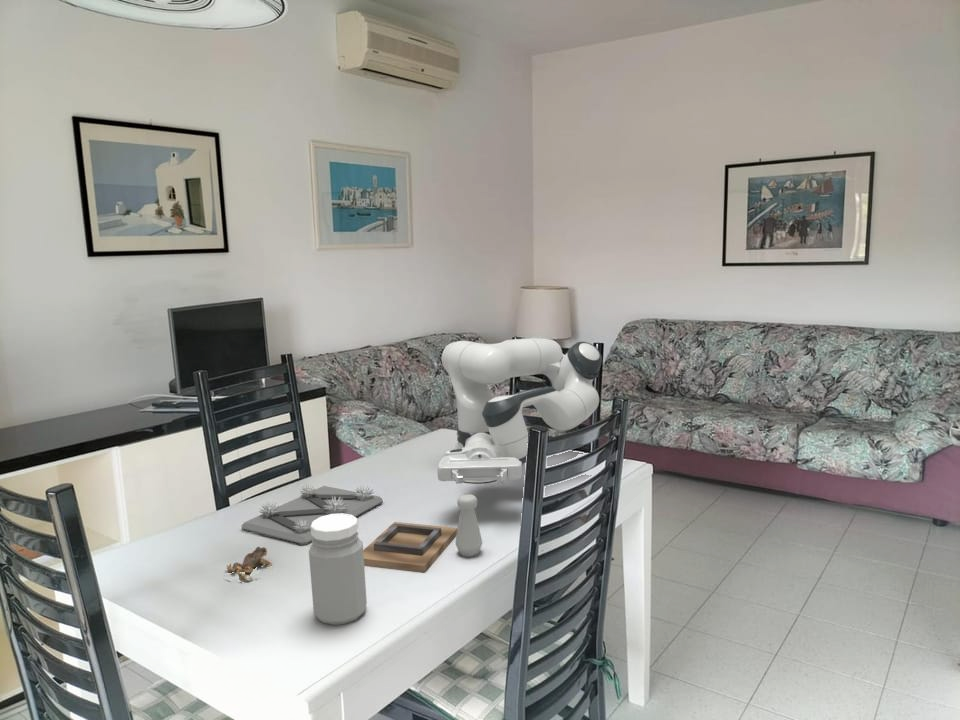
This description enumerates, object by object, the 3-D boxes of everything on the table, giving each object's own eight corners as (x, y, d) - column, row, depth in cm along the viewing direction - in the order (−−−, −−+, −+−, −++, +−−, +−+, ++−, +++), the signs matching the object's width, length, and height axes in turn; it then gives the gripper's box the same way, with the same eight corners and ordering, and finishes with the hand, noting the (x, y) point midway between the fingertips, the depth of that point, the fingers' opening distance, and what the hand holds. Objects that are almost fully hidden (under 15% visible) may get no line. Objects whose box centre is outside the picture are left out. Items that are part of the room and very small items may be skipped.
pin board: (394, 527, 170) (394, 515, 169) (457, 534, 165) (457, 521, 164) (355, 564, 151) (354, 551, 151) (424, 572, 146) (424, 558, 146)
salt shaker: (479, 559, 151) (477, 501, 149) (453, 558, 152) (450, 500, 150) (484, 548, 157) (482, 492, 155) (459, 546, 158) (457, 491, 156)
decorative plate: (323, 492, 197) (322, 468, 196) (385, 505, 187) (383, 479, 185) (239, 532, 172) (236, 504, 170) (304, 549, 161) (302, 519, 160)
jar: (305, 625, 127) (297, 531, 124) (326, 598, 137) (319, 510, 134) (356, 629, 126) (350, 533, 123) (374, 601, 135) (368, 512, 132)
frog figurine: (245, 556, 158) (244, 540, 157) (289, 564, 153) (288, 547, 153) (208, 579, 148) (206, 562, 147) (253, 588, 143) (252, 570, 142)
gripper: (521, 473, 177) (524, 491, 164) (440, 475, 178) (436, 494, 164) (521, 448, 176) (524, 465, 163) (439, 451, 177) (435, 467, 163)
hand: (479, 479), depth 163 cm, fingers open, 8 cm apart
